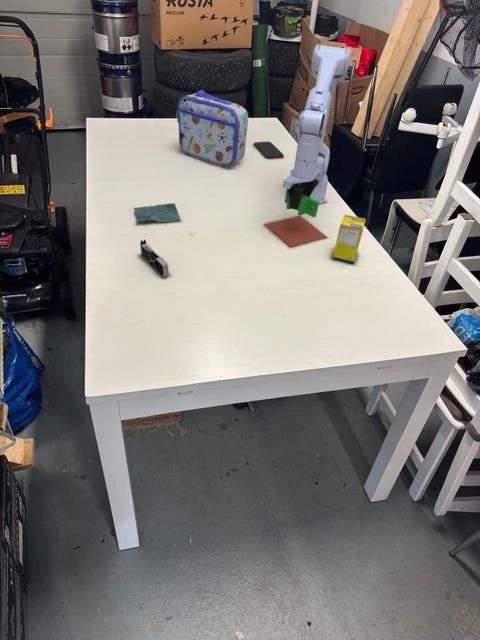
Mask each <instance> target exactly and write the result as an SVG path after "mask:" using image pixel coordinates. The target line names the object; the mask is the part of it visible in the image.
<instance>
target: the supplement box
mask: <svg viewBox="0 0 480 640" xmlns="http://www.w3.org/2000/svg"><path fill="white" fill-rule="evenodd" d="M366 220H367V219H366V218H364V217H363V218H362V217H359V216H353V215H350V214H343V217H342V219H341V223H340V225H339V228H338V233H337V237H336V242H335V246H334V251H333V255H332V260H336V261H341V262H344V263H349V264H352V265H353V264H355V260H356V258H357V254H358V250H359V247H360V243H361V238H362V236H363V232H364V228H365V224H366Z"/></svg>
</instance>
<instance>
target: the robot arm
mask: <svg viewBox="0 0 480 640" xmlns="http://www.w3.org/2000/svg"><path fill="white" fill-rule="evenodd" d="M351 55H352V50H351V48H350V47H348V48H345V47H338V46H330V45H323V44H318V43H317V44H316V45H315V46H314V49H313V53H312V60H311V73H312V78H314V79H315V80H316V82H315V86H314V87H313V88H311V89H310V90H309V92H308V96H307V99H306V102H305V107H304V110H301V112H300V114H299V118H298V125H297V139H296V141H297V146H296V152H295V157H294V158H295V159H294V166H293V168H292V169H291V170H290V175H288V176H287V177H286V178H285V179H283V181H282V187H283V188H284V189H286V190H287V191H288V194H289V200H290V207H292V208H294V209H293V210H295V209H297V208H298V205H299V201H300V198H301V195H302V194H304V195H306V196H308V197H310V198H312V199H314V200H316V201H318V202H319V204H322V203H326V201H327V200H326V199H325V198H326V195H327V194H326V193H327V188H328V184H329V182H328V181H329V179H328V175H327V171H328V167H329V162H330V155H331V149H330V148H329V146H327V145H326V143H325V142H324V140H325V136H326V132H327V131H326V130H327V126H328V121H329V116H330V111H331V106H332V101H333V97H334V92H335V89H336V87H337V85H338V84H340V83H342V82H345V79H346V77H347V73H348V69H349V65H350V61H351Z"/></svg>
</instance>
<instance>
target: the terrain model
mask: <svg viewBox="0 0 480 640" xmlns="http://www.w3.org/2000/svg"><path fill="white" fill-rule="evenodd" d="M133 210H134V214H135V217H136V222H145V221H153V222H158V223H168V222H173V223H174V222H175V223H176V222H180V221H181V217H180V215H179V211H178V209H177V206H176V203H173V202H172V203H164V204H163V203H162V204H156V205H149V206H147V205H146V206H141V207H133Z"/></svg>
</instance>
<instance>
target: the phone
mask: <svg viewBox="0 0 480 640" xmlns="http://www.w3.org/2000/svg"><path fill="white" fill-rule="evenodd" d="M253 146H254V147H255V148H256V149H257V150H258V151H259V152H260V153H261V154H262V155H263V156H264V157H265V158H266V159H279V158H284V156H285V155H284V153H283V152H281V151H280V150H279V148H278V147H276V146H275V145H274V144H273V142H271V141H256V142H254V143H253Z"/></svg>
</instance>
